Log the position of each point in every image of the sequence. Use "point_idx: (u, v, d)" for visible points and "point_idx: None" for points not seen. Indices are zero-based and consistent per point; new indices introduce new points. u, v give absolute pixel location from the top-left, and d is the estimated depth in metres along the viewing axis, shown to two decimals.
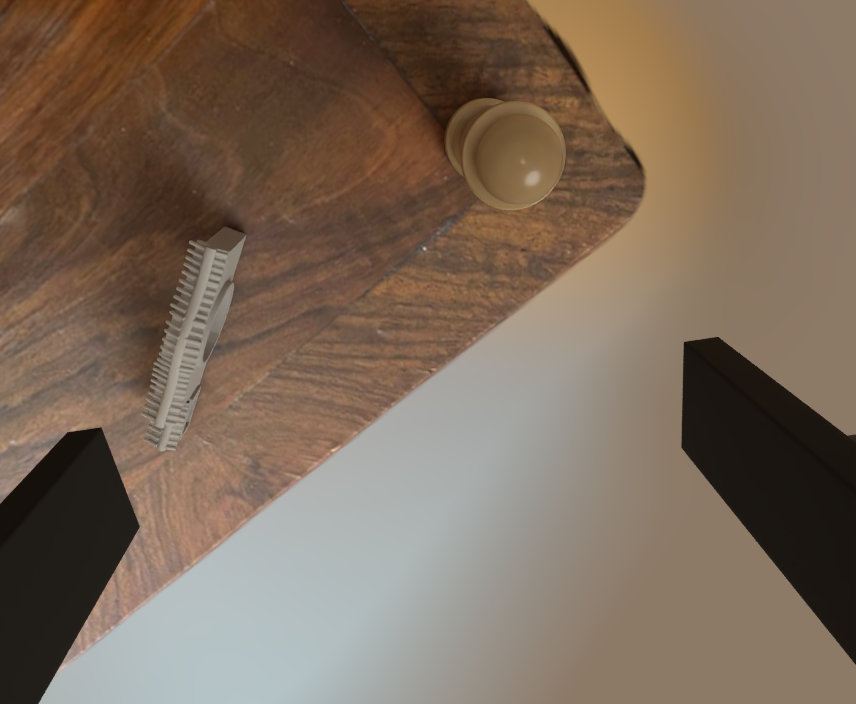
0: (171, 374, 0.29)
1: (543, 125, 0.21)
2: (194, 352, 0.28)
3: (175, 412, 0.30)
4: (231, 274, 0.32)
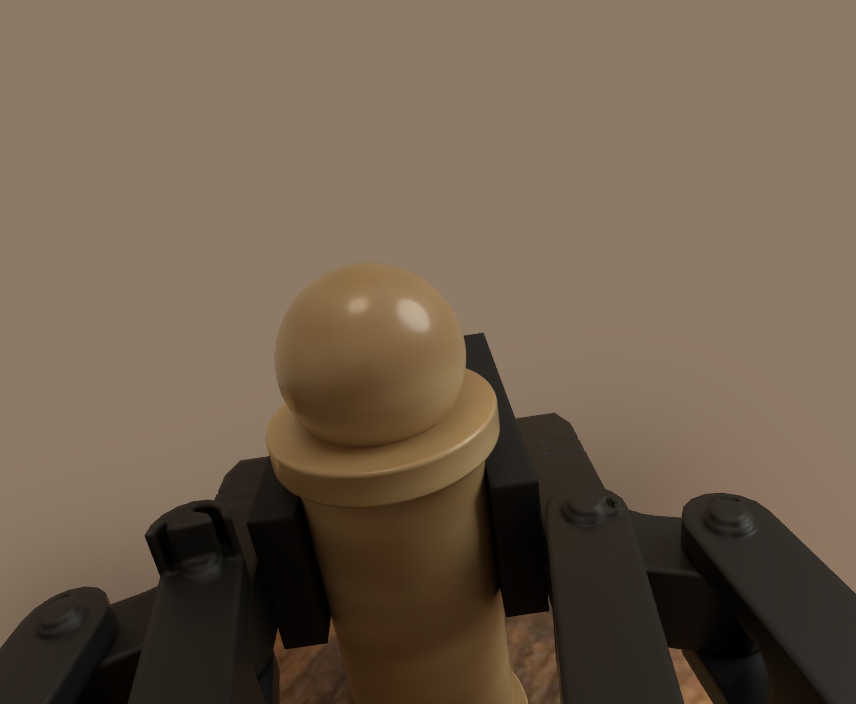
0: None
1: None
2: None
3: None
4: None
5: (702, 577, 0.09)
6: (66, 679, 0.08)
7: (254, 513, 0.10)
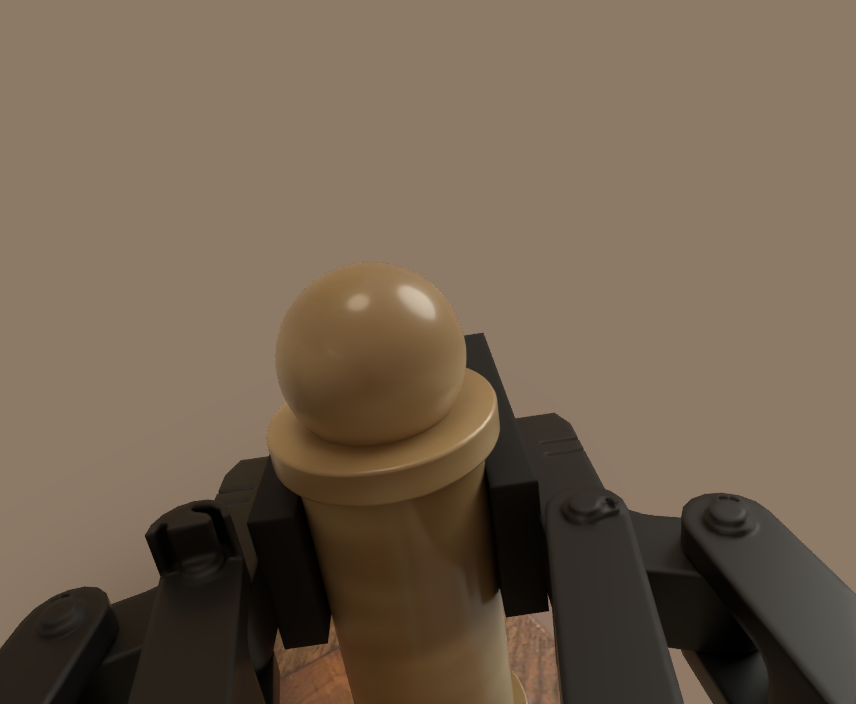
0: None
1: None
2: None
3: None
4: None
5: (702, 577, 0.09)
6: (66, 679, 0.08)
7: (254, 513, 0.10)
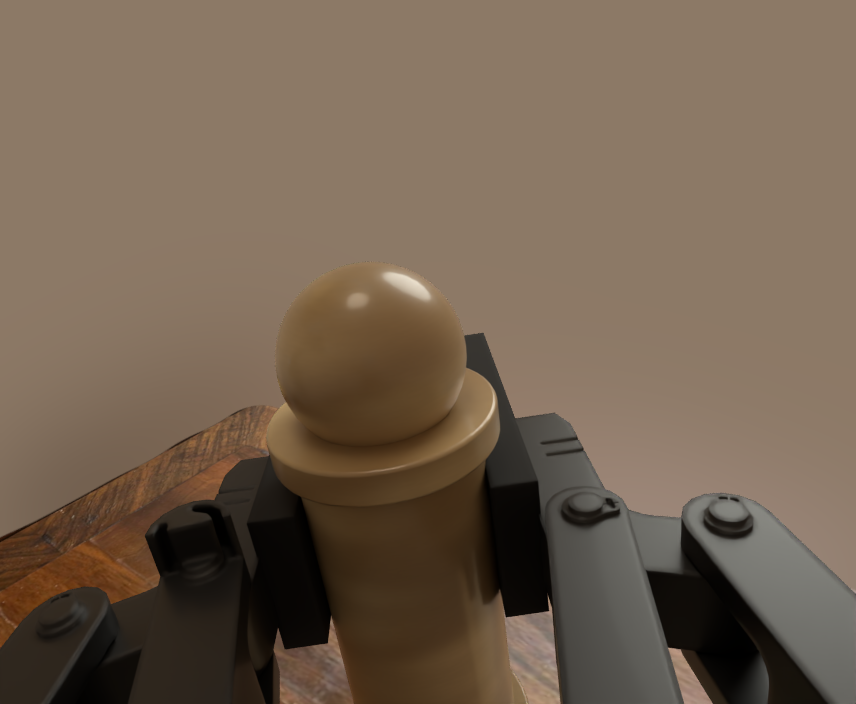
0: None
1: None
2: None
3: None
4: None
5: (701, 577, 0.09)
6: (66, 679, 0.08)
7: (254, 513, 0.10)
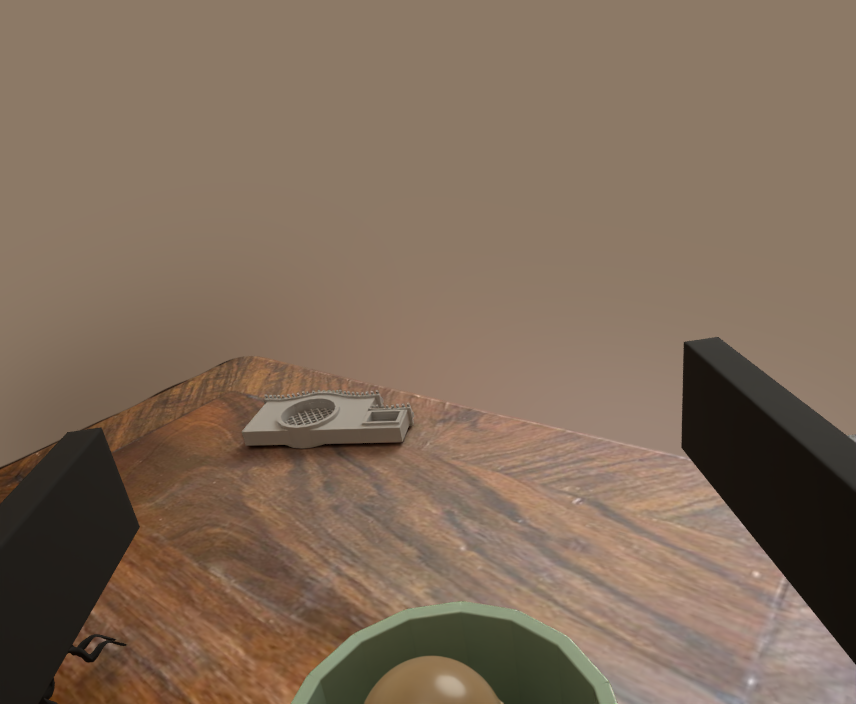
0: None
1: None
2: None
3: None
4: None
5: None
6: None
7: None
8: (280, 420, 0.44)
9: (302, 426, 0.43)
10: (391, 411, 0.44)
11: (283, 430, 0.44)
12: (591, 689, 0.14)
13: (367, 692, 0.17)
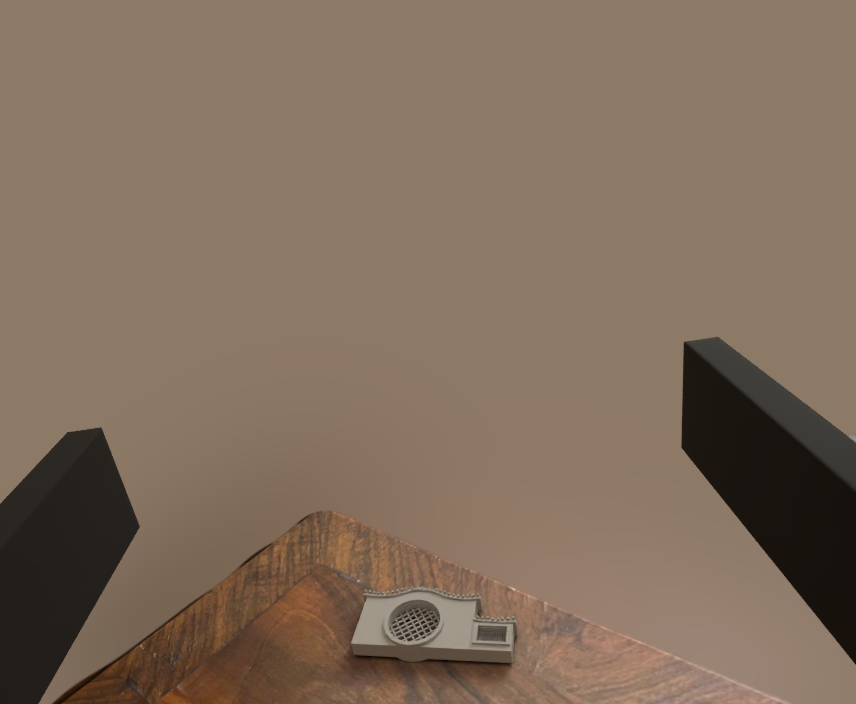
0: None
1: None
2: None
3: None
4: None
5: None
6: None
7: None
8: (388, 631, 0.46)
9: (412, 643, 0.44)
10: (498, 626, 0.45)
11: (393, 645, 0.45)
12: None
13: None
